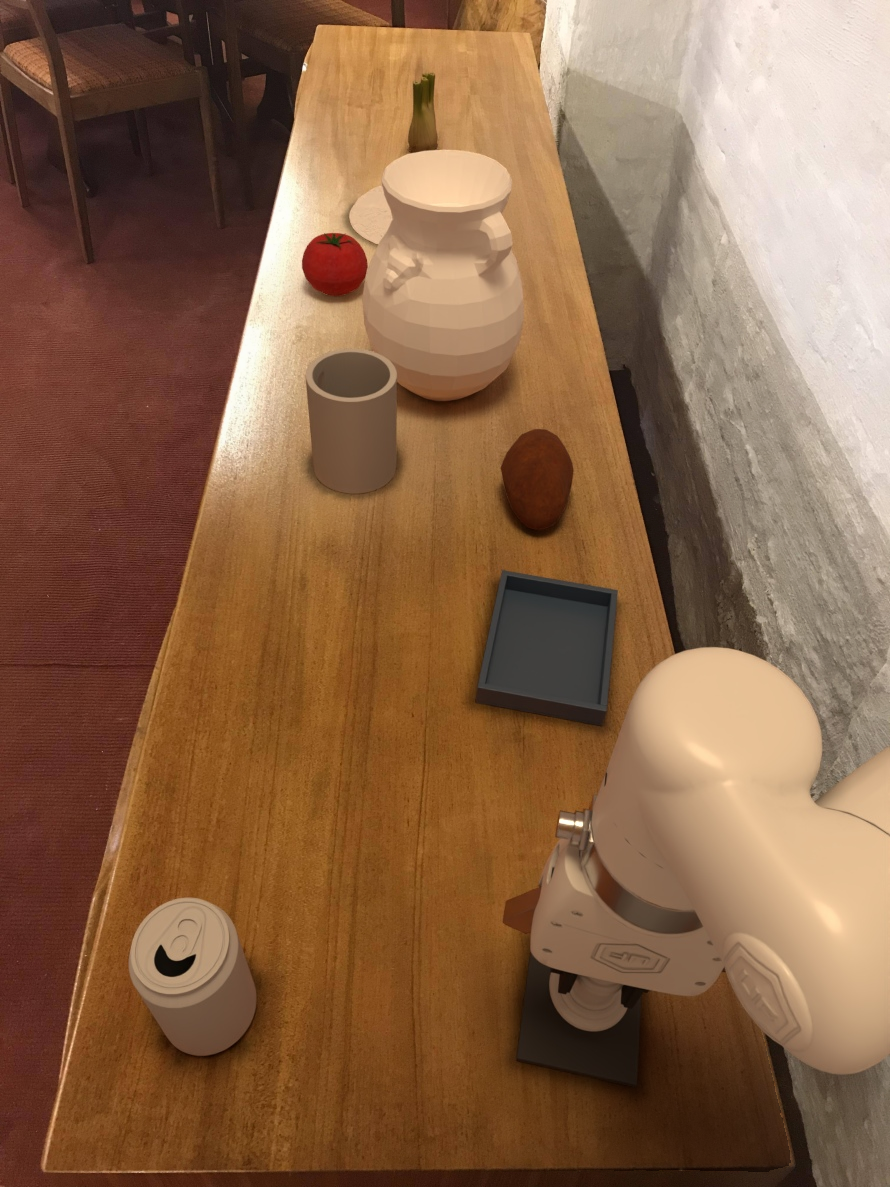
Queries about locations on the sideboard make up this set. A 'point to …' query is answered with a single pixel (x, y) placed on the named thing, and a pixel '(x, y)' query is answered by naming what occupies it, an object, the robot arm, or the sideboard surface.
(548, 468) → the potato
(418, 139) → the fennel bulb
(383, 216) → the plaque
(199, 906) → the beverage can
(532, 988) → the mat
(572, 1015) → the chess piece
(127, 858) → the sideboard surface
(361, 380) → the cup
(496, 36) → the sideboard surface
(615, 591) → the tray
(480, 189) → the white vase
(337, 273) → the tomato
